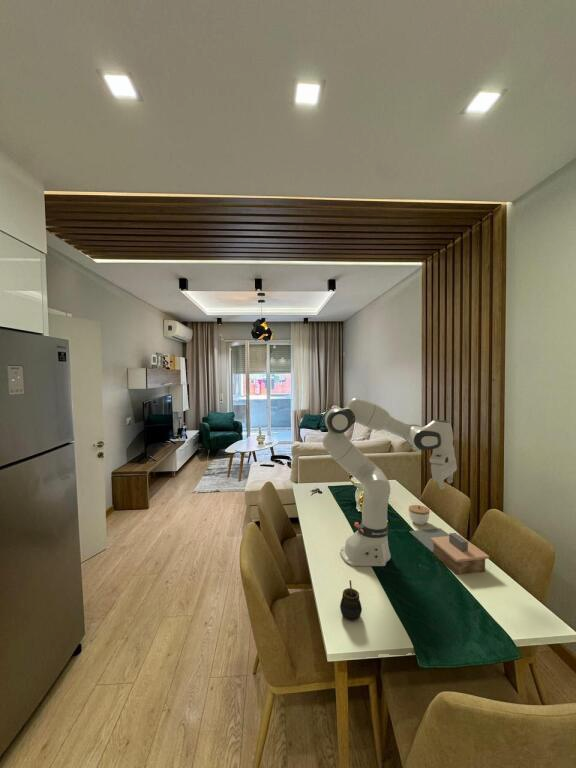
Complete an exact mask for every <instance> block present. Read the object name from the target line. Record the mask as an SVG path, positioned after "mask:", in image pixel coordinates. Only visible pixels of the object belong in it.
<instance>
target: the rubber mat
mask: <svg viewBox="0 0 576 768" xmlns="http://www.w3.org/2000/svg"><path fill="white" fill-rule="evenodd" d="M409 534H411V535H412V536H413V537H414V538H416V539H417V541H418V542H420V543H421V544H422V545H423V546H424V547H425V548H427V550H429V551H430V552H431V553H433V550H434V543H433V542H432V541H431V540H430V538H433V537H444V536H449V533H448V532H446V531H445V530H444V529H442V528H440V527H439V528H430V529H429V528H428V529H417V530H410V531H409Z"/></svg>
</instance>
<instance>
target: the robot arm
mask: <svg viewBox="0 0 576 768" xmlns="http://www.w3.org/2000/svg"><path fill="white" fill-rule="evenodd" d="M323 418H324V419H323V420H324V425H325V427H326V432H327V433H326V434H325V435H324V437H323V439H322V444H323V445H322V446H323V447H324V449H325V450H326V452H327V453H328V454H329V455H330V457H331V458H332V459H333V460H334V461H335V462H336V463H338V464H339V466H340V467H342V468H343V470H344V471H345V472H347V474H349V475H351V476H352V477H353V478H355V479H356V480H357V481H358V482H359V483H360V484H361V486H362V488H363V498H362V499H363V500H362V501H363V502H362V505H361V522H360V523H359V522H358V521H355V522H354V526H355V528H357V530H356V531H355V532H354V533H352V534H351V535H349V537H347V539H346V540H345V544H344V545H345V546H342V547H340V551H339V553H340V556H341V558H342V560H343V561H344V562H345V563H346V564H348V565H349V566H352V567H353V566H354V567H385V566H386V565H387V562H388V561H390V560H391V556H392V555H391V552H390V548H389V539H388V537H389V525H388V507H389V506H388V505H389V501H390V495H391V484H390V481H389V479H388V478H387V476H386V475H385V473H384V472H383V470H382V469H381V468H379V467H378V466H377V465H376V464H375V463H374V462H373V461H372V460H371V459H369V457H367V456H366V455H365V454H364V453H363V452H362V451H361V450H360V449H359V448H358V447H357V446H356V445H355V444H354V443H353V442H352V441H351V440H349V439H348V437H347V436H346V434H345V433H346V432H347V431H348V430H349V429H350V428H351V427H352V426H353V425H354V424H355V423H357V424H359V425H362V426H364V427H366V428H368V429H371V430H375V431H384V430H385V431H389V432H392V433H393V434H396V435H398V436H400V437H402V438H403V439H404V440H405V441H406V443H408V444H409V445H411V446H412V447H415V448H416V449H418V450H419V451H424V452H425V451H426V452H427V451H430V450H432V453H431V455H430V456H429V463H430V472H431V478H432V480H433V481H434V482H437V483H438V486H439V489H440V490H444V489H445V488H446V485H445V483H444V482H445V480H447V483H448V484H452V483H453V478H454V473H455V472H456V471H457V469H458V466H457V459H456V458H457V457H456V455H455V453H456V452H455V447H454V433H453V427H452V425H451V423H450V422H449V421H448V420H445V419H444V420H443V419H433V420H431V422H429V423H428V424H427V425H424V426H421V425H419V424H408V423H405V422H402V421H400V420H398V419H396V418H394V417H393V416H391V414H390V413H389V411H387V410H386V409H385V408H383V407H381V406H380V405H377V404H375V403H373V402H371V401H368V400H366V399H361V398H357V397H355V398H352V399H350V400H349V401H348V403H347V404H346V406H345V407H344V408H341V407H331V408H330V409H328V410H327V411H326V412H325V414H324V417H323Z"/></svg>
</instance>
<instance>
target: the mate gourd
mask: <svg viewBox="0 0 576 768" xmlns="http://www.w3.org/2000/svg"><path fill="white" fill-rule="evenodd" d="M340 600H341V601H340V603H339V608H340V613H341V615H342V616H343V617H344V618H345V619H346V620H348V621H356V620H358V619H359V618H361V617H360V616H361V614H362V611H363V608H362V603H361V600H360V593H359V591H358V590H356V589H355V588H353V587H352V580H351V579H350V580H349V588H345V589H343V591H342V597H341V599H340Z"/></svg>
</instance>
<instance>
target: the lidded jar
mask: <svg viewBox="0 0 576 768" xmlns="http://www.w3.org/2000/svg"><path fill="white" fill-rule="evenodd" d="M430 511H431V510H430V508H428V507H426V506H424V505H420V504H411V505H409V506H408V514H409V519H410V520H411V522H413V523H414V525H415V524H416V526H417V525H418V526H423V525H426V523H428V521H429V518H430Z"/></svg>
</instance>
